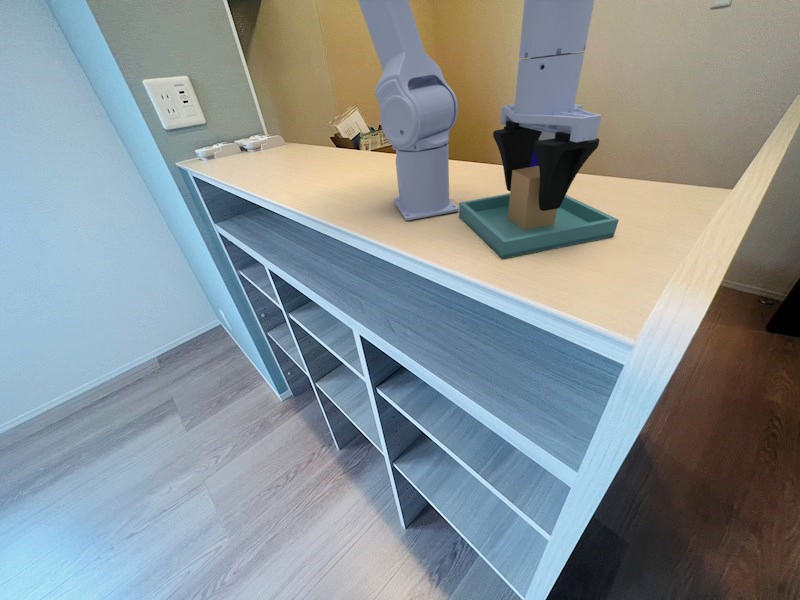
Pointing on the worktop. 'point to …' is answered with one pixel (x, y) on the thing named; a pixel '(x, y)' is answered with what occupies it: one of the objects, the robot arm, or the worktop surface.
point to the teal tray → (512, 241)
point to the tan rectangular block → (528, 200)
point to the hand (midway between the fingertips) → (531, 198)
